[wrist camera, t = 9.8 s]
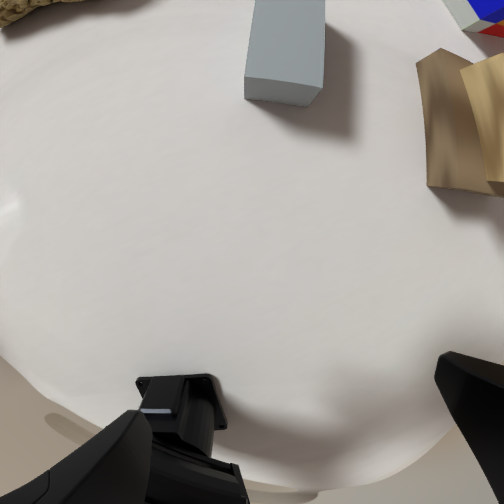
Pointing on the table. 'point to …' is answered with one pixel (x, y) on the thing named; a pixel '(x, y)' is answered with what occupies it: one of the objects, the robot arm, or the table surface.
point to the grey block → (286, 51)
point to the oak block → (488, 110)
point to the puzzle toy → (478, 15)
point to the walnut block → (451, 127)
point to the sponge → (21, 9)
